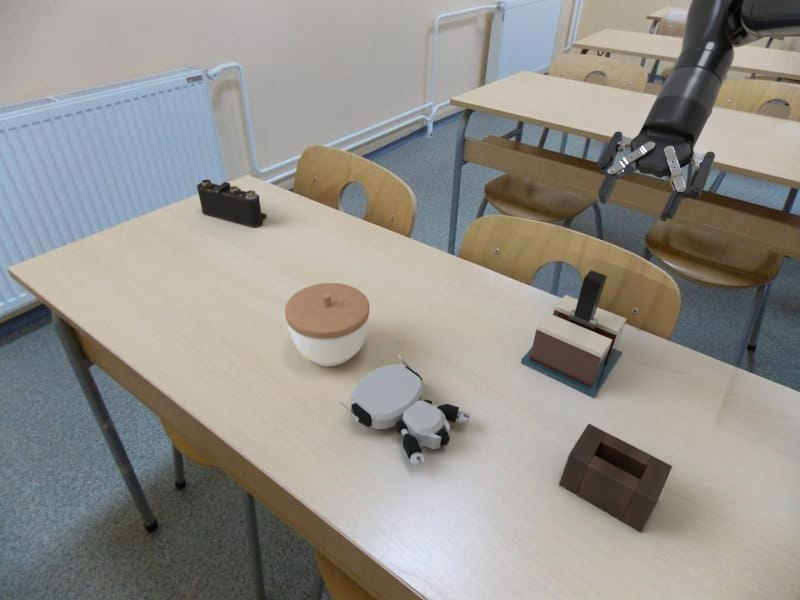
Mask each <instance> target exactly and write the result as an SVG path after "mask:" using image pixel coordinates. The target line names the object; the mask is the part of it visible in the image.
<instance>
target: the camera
mask: <svg viewBox="0 0 800 600" xmlns="http://www.w3.org/2000/svg"><path fill="white" fill-rule="evenodd" d="M196 189H197V193H198V197H199V202H200V206H201V212H202V214H203V215H205V216H208V217H213V218H216V219H219V220H223V221H227V222H231V223H235V224H238V225H241V226H246V227H250V228H252V229H253V228H254V229H255V228H260V227H263V225H264V220H266V218H267V216H268V215H267V213H265V212H264V213H263V212H262V208H261V201H260V195H259V194H258V193H256V191H255V190H247V191H246V190H242V189H241V188H240V187H239V186H236V185H231V183H230V182H227V181H224V182H222V183H221V184H216V183H212V181H211V179H203V180H201V182H200V183H198V184H196Z"/></svg>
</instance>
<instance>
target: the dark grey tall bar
mask: <svg viewBox="0 0 800 600" xmlns="http://www.w3.org/2000/svg"><path fill="white" fill-rule="evenodd" d="M607 277H608V275H606V274H602V273H600V272H597V271H594V270H591V269H590V270H589V271H588V273H587V274H586V275H585V276H584V278H583V281H582V285H581V288H580V292H579V295H578V298H577V299H578V302H577V306H576V310H574V309H573V310H572V311H571V313H570V316H569V320H568V321H569V322H571V323H573V324H576V325H578V326H581V327H583V328H585V329H588V330H590V331H593V332H595V328H596V325H597V322H598V319H596V318H593V317H594V315H595V313H596V310H597V307H598V308H599V303H600V301H601V297H602V295H603V294H602V293H603V291H604V287H605V284H606V281H607Z"/></svg>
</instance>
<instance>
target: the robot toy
mask: <svg viewBox="0 0 800 600" xmlns="http://www.w3.org/2000/svg"><path fill="white" fill-rule="evenodd" d="M397 358H398V359H399V360H400V361H401V362H402V363H403V364H404V365H403V364H397V363H394V364H393V363H392V364H388V365H383V366H381V367H378V368H376V369H374V370H371V371H370V372H368V373H367V374H365V375H364V376H363V377H362V378H361V379H360V380H359V381H358V382H357V383H356V385H355V386H354V387H353V389H352V390H351V394H350V404H349V405H350V409H349V408H348V406H347V405H346V404H345V403H344V402H343V400H342V399H341V398H339V397H337V398H336V399H337V402H338V403H339V404H341V406H342V407H343V408H344V409H345V410H346V411H347V412H348V413H349V414H350V416H351V417H352V418H353V420H354V421H355V423H359V424H361V425H363V426H365V427H366V428H372V429H375V430H385V429H390V428H392V427H395V429H396V431H397V433H398V434H401V435H402V437H403V438H402V447H403V451H404V452H405V454H406V456H407V458H408V460H410V463H411V464H412V465H413V466H414V467H420V465H421V466H423V465H424V464H425V463H426V457H425V456H424V455H423V454H422V447H427V448H429V449H432V450H436V449H439V448H440V446H441V447H443V446H447V445H448V444H449V442H450V439H451V437H450V434H449V432H450V428H451V427H450V426H451V424H450V423H449V422H451V423H454V424H455V423H456V421H459V422H460V423H461V424H467V423H469V422H470V417H471V415H470V413H469V412H468V411H466V410H460V407H459V406H456V405H452V404H450V403H444V404H440V405H436V404H433V401H432V400H429V399H426V398H424V399H423V396H424V391H425V384H424V382H423V378H422V376H421V375H420V373H419V372H418V371H417V370H415V369H414V368H412V366H411V365H409V363H408V362H407V361H405V359H404V358H403V357H402V356H401V355H400V354H397Z"/></svg>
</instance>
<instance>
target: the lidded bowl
mask: <svg viewBox="0 0 800 600" xmlns="http://www.w3.org/2000/svg"><path fill="white" fill-rule="evenodd" d="M369 316H370V302H369V300H368V297H367V296H366V295H365V294H364V293H363V292H362V291H361V290H360V289H357V288H356V287H353V286H351V285H349V284H344V283H338V282H322V283H316V284H312V285H309V286H307V287H304V288H302V289H300V290H298V291H297V292H294V294H293V295H292V296H291V297H290V298H289V299H288V300H287V302H286V304H285V307H284V317H285V320H286V324H287V328H288V333H289V337H290V339H291V342H292V343H293V346H294V347H295V348H296V350H297V352H298V353H300V355H301V356H303V357H304V358H305V359H306V360H309V361H310V362H313V363H314V364H316V365H318V366H320V367H327V368H329V367H337V366H341V365H342V364H343V365H344V364H345V363H346V362H348V361H349V360H350V359H351V358H352V357H354V356H355V355H357V353H358V352H359V351H360V350H361V348H362V346H363V345H364V343H365V341H366V339H367V335H368V331H369V321H370V320H369V319H370V317H369Z"/></svg>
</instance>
